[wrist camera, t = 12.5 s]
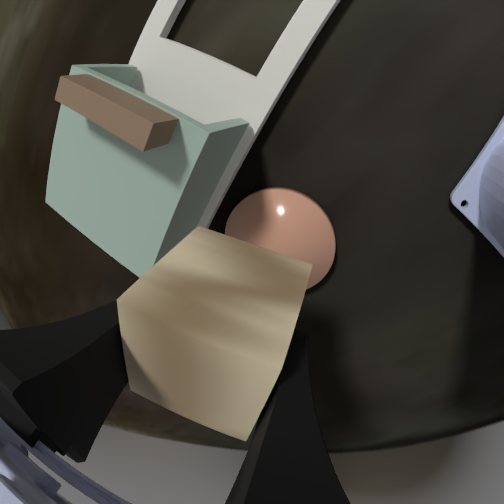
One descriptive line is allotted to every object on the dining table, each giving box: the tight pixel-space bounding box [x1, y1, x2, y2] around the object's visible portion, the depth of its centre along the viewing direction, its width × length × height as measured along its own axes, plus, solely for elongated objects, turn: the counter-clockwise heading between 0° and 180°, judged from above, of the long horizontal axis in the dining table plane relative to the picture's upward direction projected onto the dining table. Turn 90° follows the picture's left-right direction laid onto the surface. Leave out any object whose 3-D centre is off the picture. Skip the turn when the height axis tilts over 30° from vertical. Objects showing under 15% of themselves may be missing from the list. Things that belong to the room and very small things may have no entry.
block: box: [117, 226, 313, 441], centre depth 10 cm, size 4×4×5 cm
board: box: [128, 0, 340, 229], centre depth 16 cm, size 10×20×1 cm, turn 151°
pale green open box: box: [46, 64, 250, 278], centre depth 15 cm, size 9×9×7 cm
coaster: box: [225, 187, 336, 289], centre depth 19 cm, size 7×7×1 cm
